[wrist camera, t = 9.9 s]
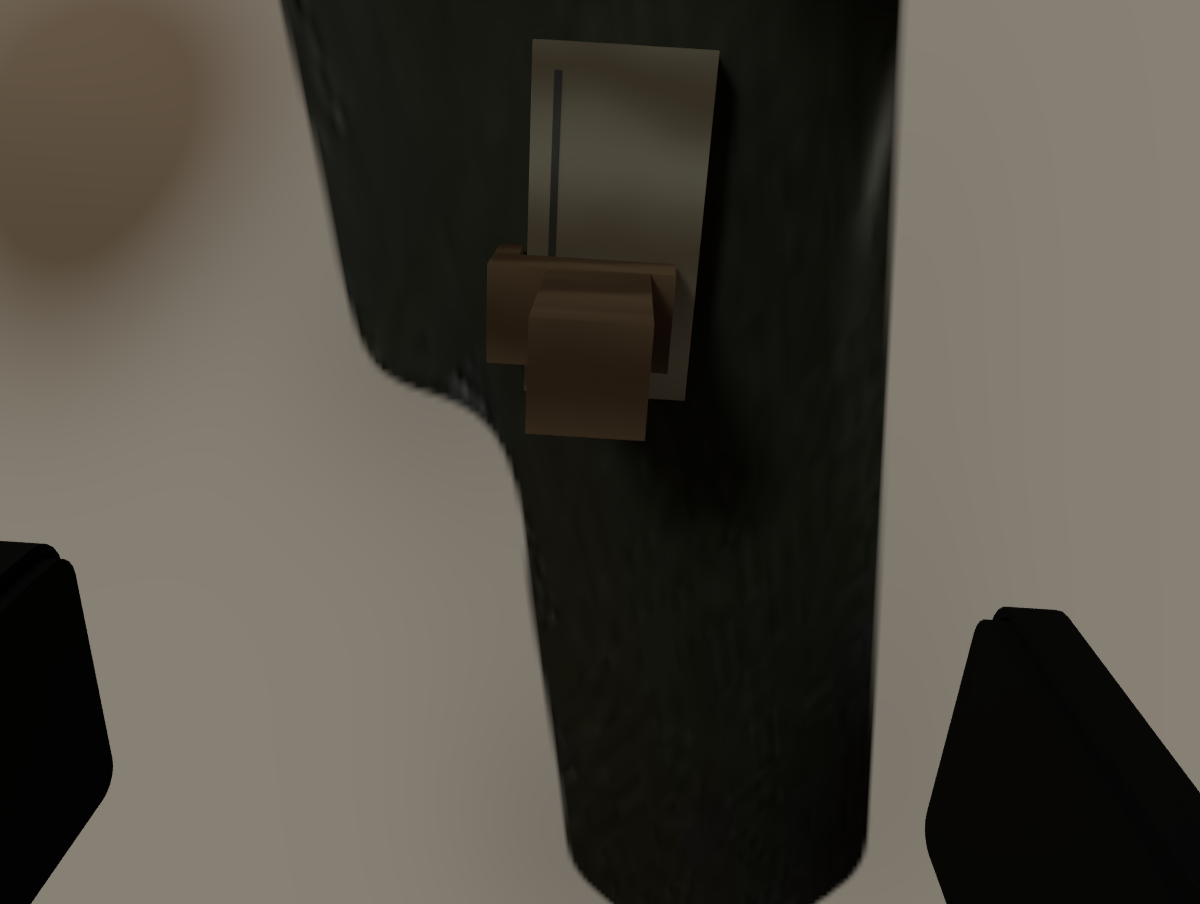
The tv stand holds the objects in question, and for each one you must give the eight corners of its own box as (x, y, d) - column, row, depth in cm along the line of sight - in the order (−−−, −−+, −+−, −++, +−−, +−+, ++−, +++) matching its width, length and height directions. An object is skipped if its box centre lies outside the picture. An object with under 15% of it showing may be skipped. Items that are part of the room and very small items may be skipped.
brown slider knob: (500, 243, 40) (455, 312, 30) (672, 254, 40) (685, 327, 30) (499, 334, 41) (457, 428, 31) (664, 344, 41) (674, 443, 31)
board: (537, 39, 37) (532, 38, 35) (715, 50, 37) (719, 50, 35) (528, 375, 43) (523, 390, 41) (682, 385, 43) (684, 400, 41)
